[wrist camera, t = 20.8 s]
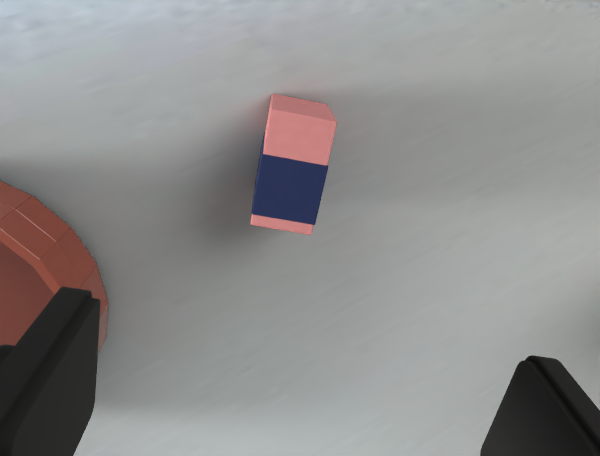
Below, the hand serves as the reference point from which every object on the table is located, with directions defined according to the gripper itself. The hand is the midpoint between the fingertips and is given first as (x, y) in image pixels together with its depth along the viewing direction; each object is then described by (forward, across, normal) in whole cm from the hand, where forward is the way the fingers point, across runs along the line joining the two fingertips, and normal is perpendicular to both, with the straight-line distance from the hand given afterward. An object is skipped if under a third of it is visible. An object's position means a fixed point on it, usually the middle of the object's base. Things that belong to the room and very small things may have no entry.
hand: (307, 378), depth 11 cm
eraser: (+20, 0, 0) cm, 20 cm away
